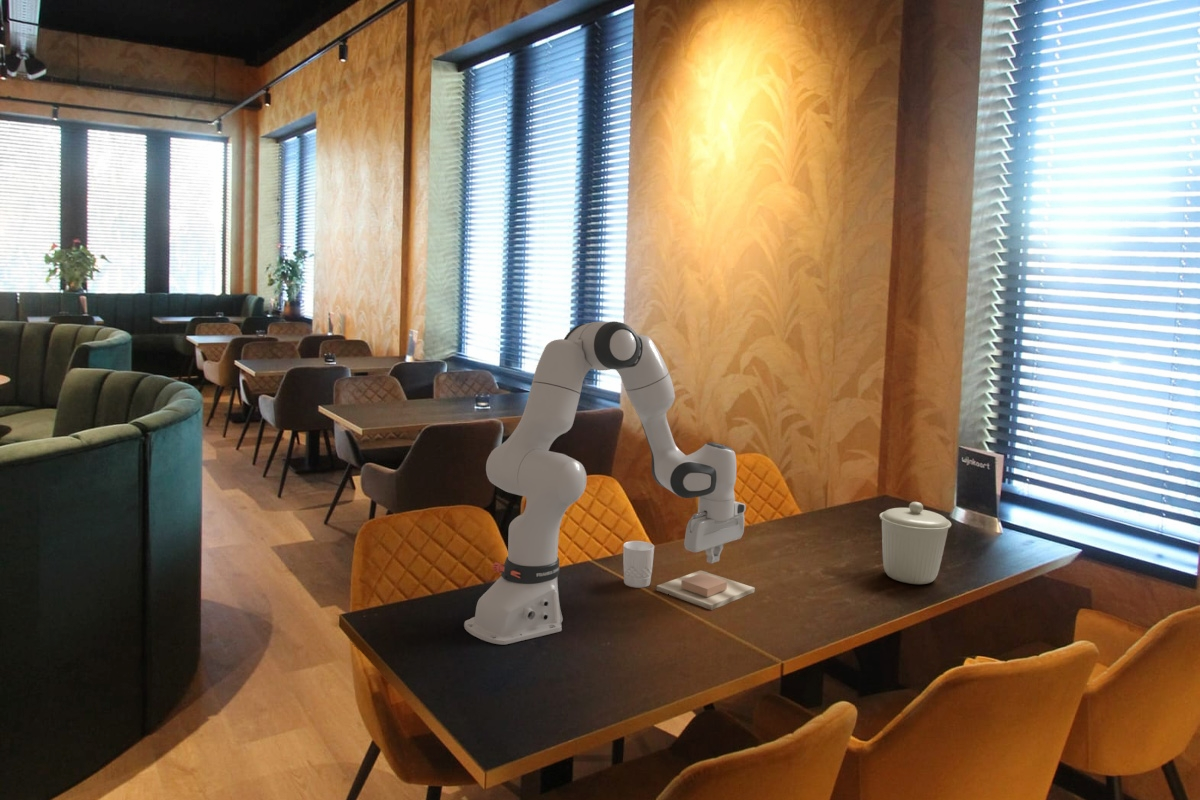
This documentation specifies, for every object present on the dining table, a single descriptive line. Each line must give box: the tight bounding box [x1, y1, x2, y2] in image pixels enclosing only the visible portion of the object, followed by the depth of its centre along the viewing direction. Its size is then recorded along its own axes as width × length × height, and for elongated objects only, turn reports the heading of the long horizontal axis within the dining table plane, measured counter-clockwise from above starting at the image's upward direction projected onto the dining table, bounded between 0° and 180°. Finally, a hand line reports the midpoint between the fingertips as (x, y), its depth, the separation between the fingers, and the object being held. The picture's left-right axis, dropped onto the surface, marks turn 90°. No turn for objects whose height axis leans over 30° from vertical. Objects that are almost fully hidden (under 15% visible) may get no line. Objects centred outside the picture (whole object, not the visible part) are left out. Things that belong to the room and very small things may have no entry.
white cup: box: [622, 540, 655, 589], centre depth 216 cm, size 8×8×10 cm
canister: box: [879, 501, 952, 585], centre depth 228 cm, size 18×18×21 cm
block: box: [681, 573, 727, 597], centre depth 211 cm, size 2×8×8 cm
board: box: [656, 569, 756, 611], centre depth 213 cm, size 18×17×1 cm
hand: (712, 561), depth 212 cm, fingers closed
